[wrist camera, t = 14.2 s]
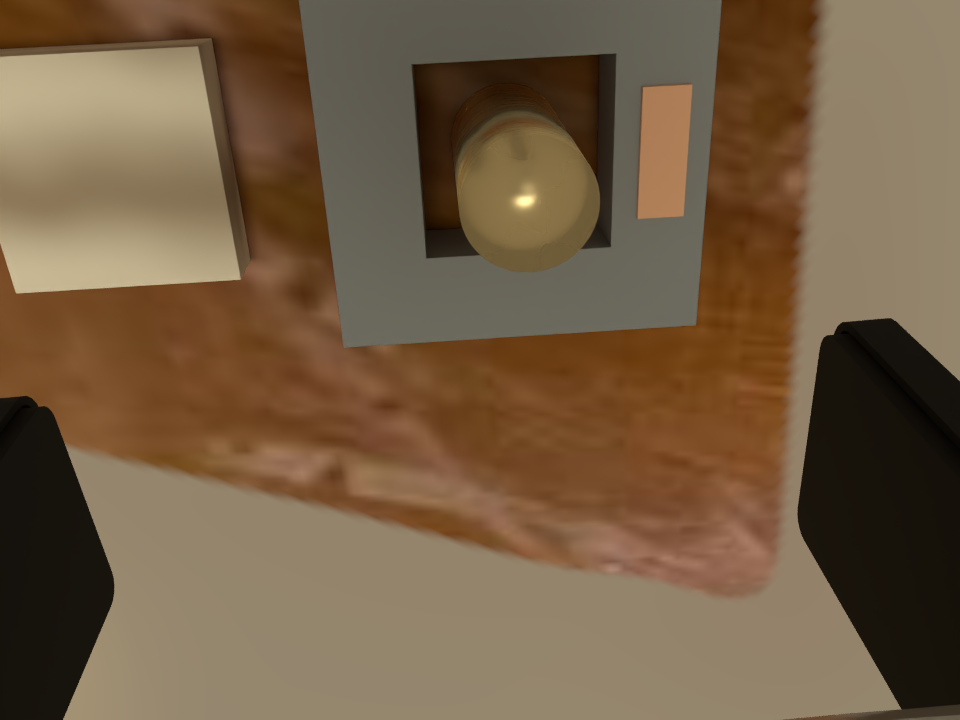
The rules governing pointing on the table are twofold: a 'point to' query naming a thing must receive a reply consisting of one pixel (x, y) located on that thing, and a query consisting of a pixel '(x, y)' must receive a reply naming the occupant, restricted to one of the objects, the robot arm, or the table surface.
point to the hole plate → (447, 253)
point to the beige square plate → (117, 167)
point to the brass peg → (521, 180)
